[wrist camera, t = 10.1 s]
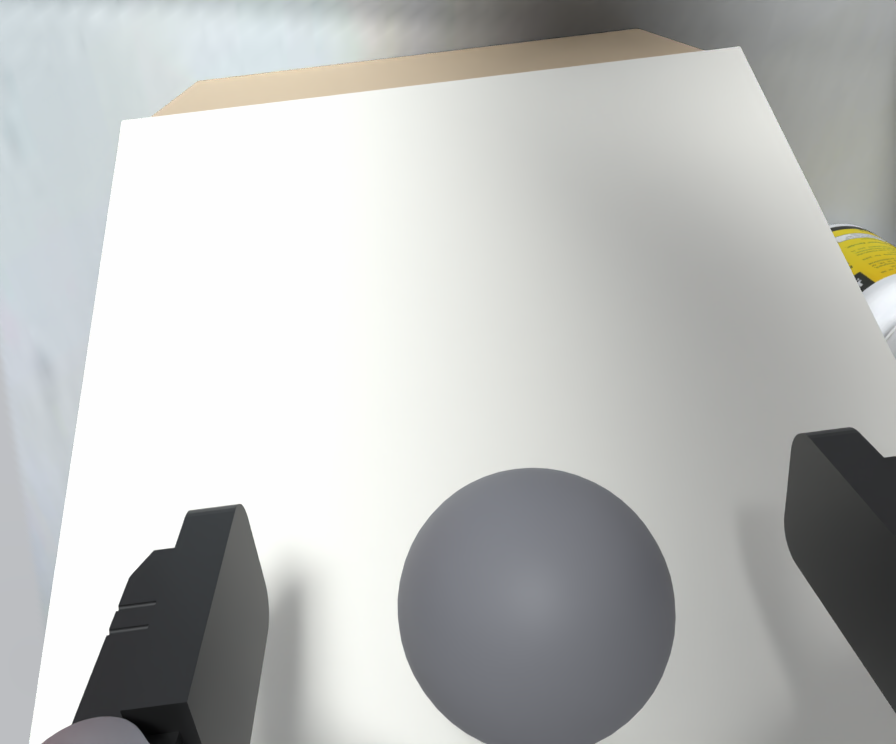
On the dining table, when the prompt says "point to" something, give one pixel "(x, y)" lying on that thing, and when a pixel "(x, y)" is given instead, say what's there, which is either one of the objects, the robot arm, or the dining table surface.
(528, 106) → the lid
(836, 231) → the supplement bottle
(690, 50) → the carton
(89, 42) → the dining table surface
